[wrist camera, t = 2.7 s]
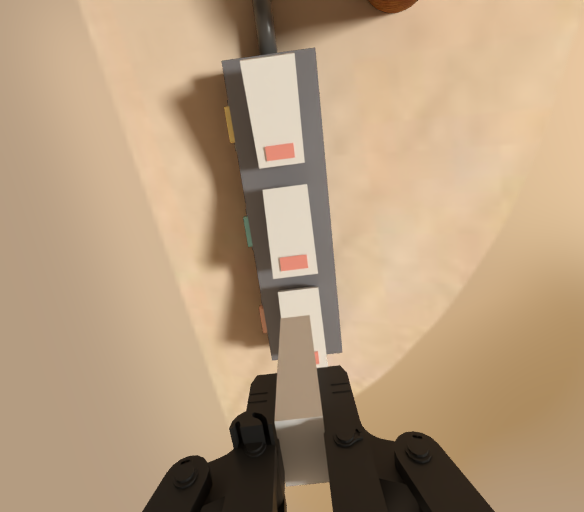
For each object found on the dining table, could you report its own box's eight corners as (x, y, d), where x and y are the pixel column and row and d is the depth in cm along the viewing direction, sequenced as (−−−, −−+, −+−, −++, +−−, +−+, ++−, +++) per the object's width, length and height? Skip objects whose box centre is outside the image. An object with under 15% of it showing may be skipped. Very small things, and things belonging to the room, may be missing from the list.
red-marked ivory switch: (241, 59, 24) (239, 60, 22) (293, 52, 23) (294, 53, 22) (260, 161, 28) (259, 169, 27) (303, 156, 28) (304, 163, 26)
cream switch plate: (264, 194, 29) (262, 189, 27) (306, 188, 29) (307, 183, 27) (274, 277, 29) (273, 279, 27) (317, 272, 29) (318, 273, 27)
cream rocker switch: (279, 290, 32) (277, 292, 30) (317, 285, 32) (318, 287, 30) (288, 366, 32) (287, 373, 30) (326, 362, 32) (328, 369, 30)
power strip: (211, -2, 28) (196, -33, 23) (305, -16, 27) (308, -50, 23) (269, 343, 38) (267, 367, 34) (337, 335, 38) (343, 358, 33)
